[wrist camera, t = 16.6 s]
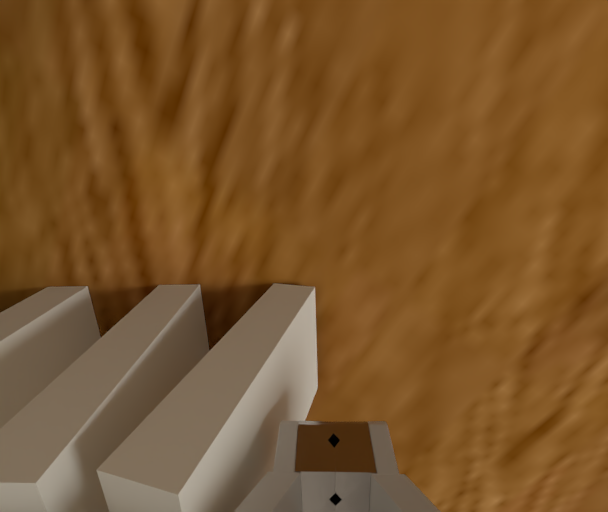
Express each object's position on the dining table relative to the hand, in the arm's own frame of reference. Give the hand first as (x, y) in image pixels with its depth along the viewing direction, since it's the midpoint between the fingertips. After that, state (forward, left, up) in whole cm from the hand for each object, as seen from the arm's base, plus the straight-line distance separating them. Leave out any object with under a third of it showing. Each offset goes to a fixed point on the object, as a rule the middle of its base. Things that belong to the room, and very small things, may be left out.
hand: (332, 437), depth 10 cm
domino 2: (0, +6, -6) cm, 8 cm away
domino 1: (0, +1, -6) cm, 6 cm away
